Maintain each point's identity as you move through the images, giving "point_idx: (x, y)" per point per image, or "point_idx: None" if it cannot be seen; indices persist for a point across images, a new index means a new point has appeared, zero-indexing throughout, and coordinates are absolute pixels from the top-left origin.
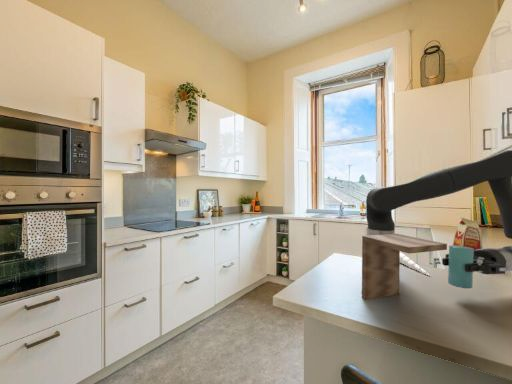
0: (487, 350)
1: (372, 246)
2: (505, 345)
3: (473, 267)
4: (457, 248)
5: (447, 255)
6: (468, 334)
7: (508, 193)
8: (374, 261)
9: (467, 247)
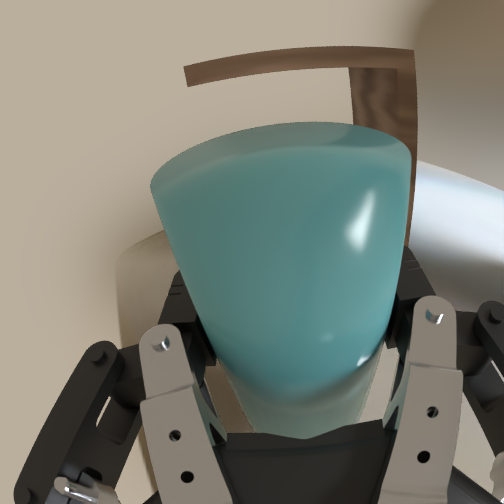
0: (136, 257)
1: (356, 79)
2: (118, 288)
3: (176, 283)
4: (255, 129)
5: (480, 306)
6: (168, 267)
7: None
8: (361, 123)
9: (251, 188)
